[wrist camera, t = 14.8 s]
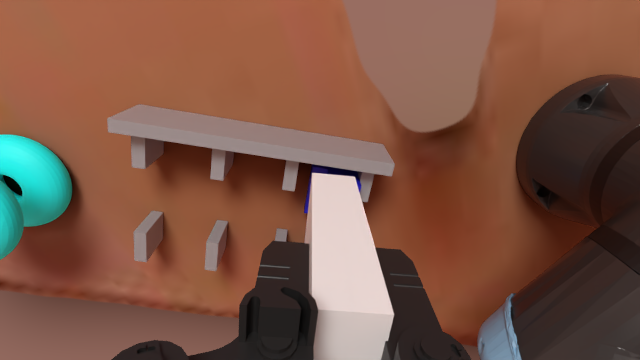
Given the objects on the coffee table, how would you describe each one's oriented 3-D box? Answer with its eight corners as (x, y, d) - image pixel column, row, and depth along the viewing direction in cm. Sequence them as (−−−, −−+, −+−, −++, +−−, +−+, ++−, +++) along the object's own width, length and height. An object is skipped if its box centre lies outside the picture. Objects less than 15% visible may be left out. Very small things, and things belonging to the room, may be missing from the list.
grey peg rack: (382, 144, 38) (394, 164, 32) (350, 272, 44) (356, 307, 39) (139, 104, 36) (107, 118, 30) (141, 244, 42) (115, 277, 36)
